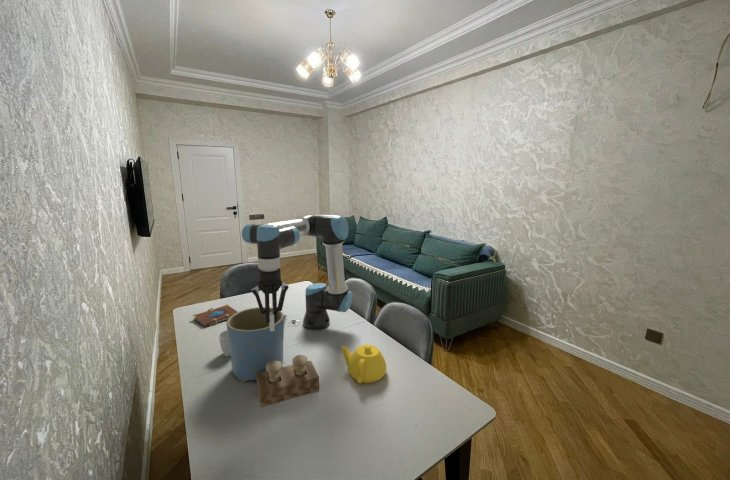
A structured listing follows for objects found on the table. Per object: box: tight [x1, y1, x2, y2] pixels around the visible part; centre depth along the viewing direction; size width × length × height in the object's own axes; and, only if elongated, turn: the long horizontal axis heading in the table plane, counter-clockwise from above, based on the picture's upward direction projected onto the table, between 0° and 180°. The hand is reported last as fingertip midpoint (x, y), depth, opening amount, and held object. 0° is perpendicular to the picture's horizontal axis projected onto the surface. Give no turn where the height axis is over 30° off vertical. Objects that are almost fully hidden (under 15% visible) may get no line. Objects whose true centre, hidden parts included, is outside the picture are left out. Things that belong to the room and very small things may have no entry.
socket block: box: [256, 360, 320, 408], centre depth 120 cm, size 22×12×6 cm, turn 115°
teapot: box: [341, 344, 387, 384], centre depth 130 cm, size 20×19×13 cm
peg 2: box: [292, 354, 308, 377], centre depth 121 cm, size 6×6×7 cm
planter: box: [226, 306, 285, 383], centre depth 131 cm, size 23×23×24 cm
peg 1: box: [266, 361, 283, 384], centre depth 117 cm, size 6×6×7 cm
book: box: [192, 304, 238, 328], centre depth 181 cm, size 16×25×5 cm, turn 141°
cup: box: [218, 329, 231, 357], centre depth 143 cm, size 8×8×10 cm
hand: (271, 329), depth 113 cm, fingers closed
